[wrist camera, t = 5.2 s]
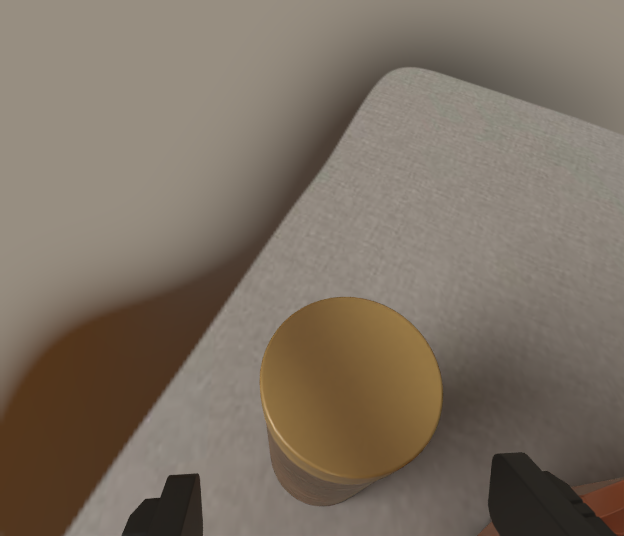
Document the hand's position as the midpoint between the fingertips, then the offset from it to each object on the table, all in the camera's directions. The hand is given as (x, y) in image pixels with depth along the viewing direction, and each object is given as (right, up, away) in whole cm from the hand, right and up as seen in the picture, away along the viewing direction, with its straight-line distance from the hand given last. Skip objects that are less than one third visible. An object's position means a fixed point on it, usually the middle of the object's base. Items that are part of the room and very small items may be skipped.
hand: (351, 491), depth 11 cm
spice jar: (-1, -2, +8) cm, 8 cm away
